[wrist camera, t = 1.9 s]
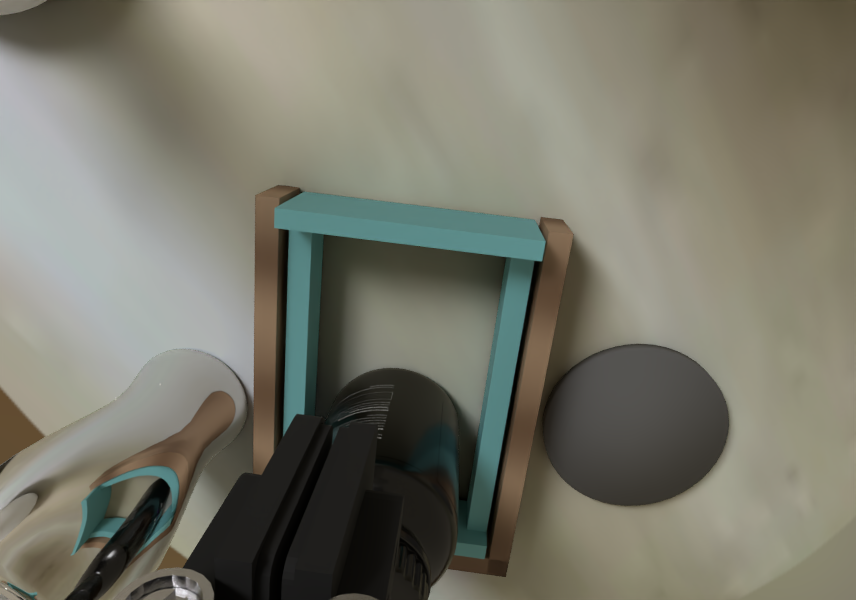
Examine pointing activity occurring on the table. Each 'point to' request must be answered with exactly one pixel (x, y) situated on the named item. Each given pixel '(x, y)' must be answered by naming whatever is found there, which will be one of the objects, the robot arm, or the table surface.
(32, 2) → the flower in vase
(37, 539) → the beer glass
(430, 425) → the supplement bottle
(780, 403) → the table surface
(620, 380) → the coaster
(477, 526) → the teal drawer
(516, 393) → the walnut cubby
